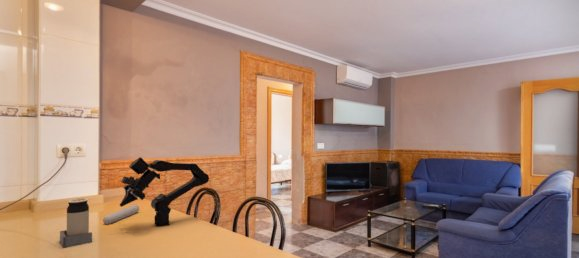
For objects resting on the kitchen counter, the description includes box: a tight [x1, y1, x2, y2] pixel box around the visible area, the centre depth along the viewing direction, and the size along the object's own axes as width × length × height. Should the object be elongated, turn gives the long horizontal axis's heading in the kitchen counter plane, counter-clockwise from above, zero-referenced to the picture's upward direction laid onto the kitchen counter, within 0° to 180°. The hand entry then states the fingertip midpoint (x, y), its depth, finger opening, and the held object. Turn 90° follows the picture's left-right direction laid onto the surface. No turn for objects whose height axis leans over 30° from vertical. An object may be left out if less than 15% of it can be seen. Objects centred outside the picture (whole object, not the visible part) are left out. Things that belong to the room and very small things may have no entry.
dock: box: [59, 229, 93, 249], centre depth 134 cm, size 10×12×4 cm
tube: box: [102, 204, 140, 225], centre depth 170 cm, size 5×5×25 cm
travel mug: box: [66, 197, 90, 237], centre depth 134 cm, size 8×8×18 cm
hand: (120, 206), depth 145 cm, fingers closed
